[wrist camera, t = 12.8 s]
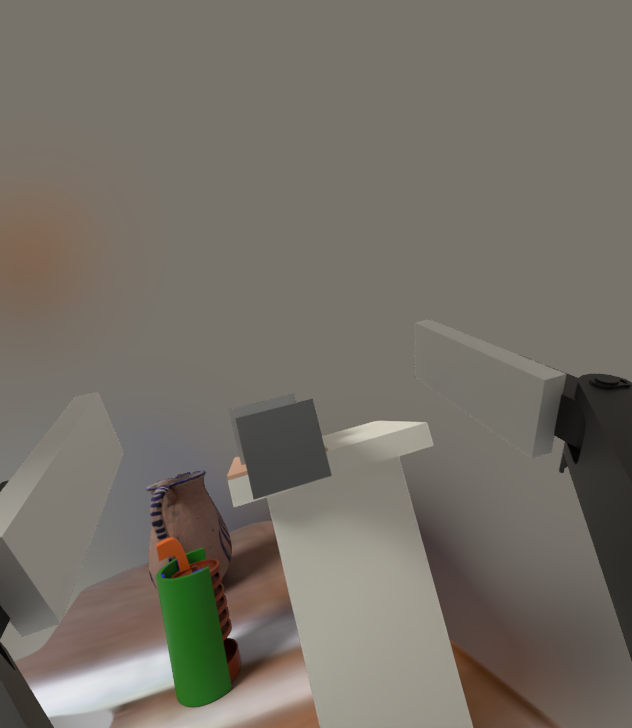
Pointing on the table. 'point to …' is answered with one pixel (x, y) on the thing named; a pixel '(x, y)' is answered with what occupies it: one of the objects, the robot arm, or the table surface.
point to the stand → (365, 586)
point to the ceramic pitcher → (186, 521)
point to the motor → (196, 624)
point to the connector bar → (279, 444)
